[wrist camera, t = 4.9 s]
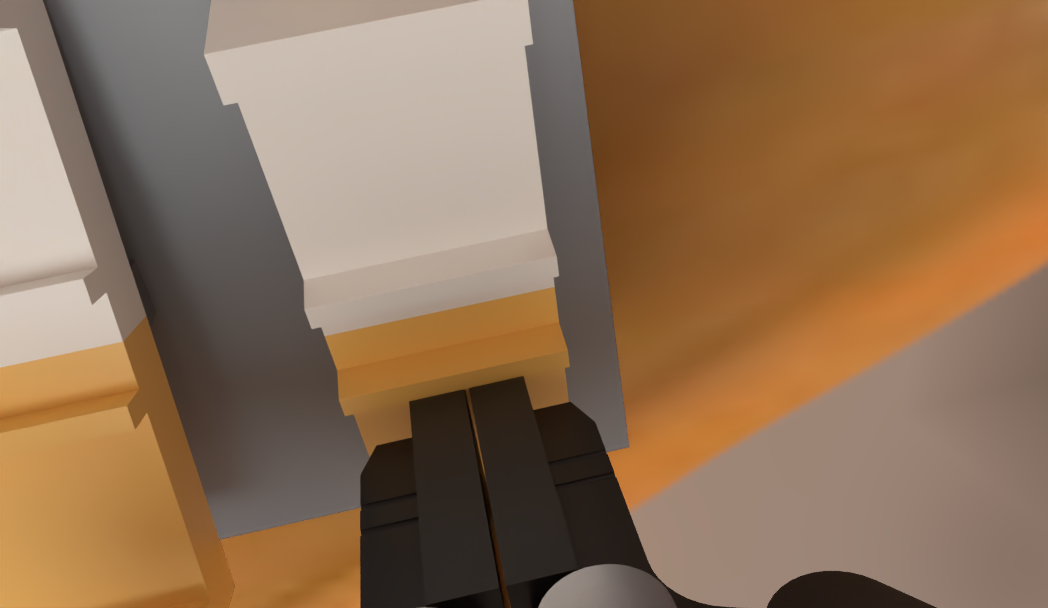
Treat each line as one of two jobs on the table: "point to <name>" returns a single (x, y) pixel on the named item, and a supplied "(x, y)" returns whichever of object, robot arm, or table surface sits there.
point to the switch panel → (287, 255)
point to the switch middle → (82, 374)
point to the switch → (403, 190)
